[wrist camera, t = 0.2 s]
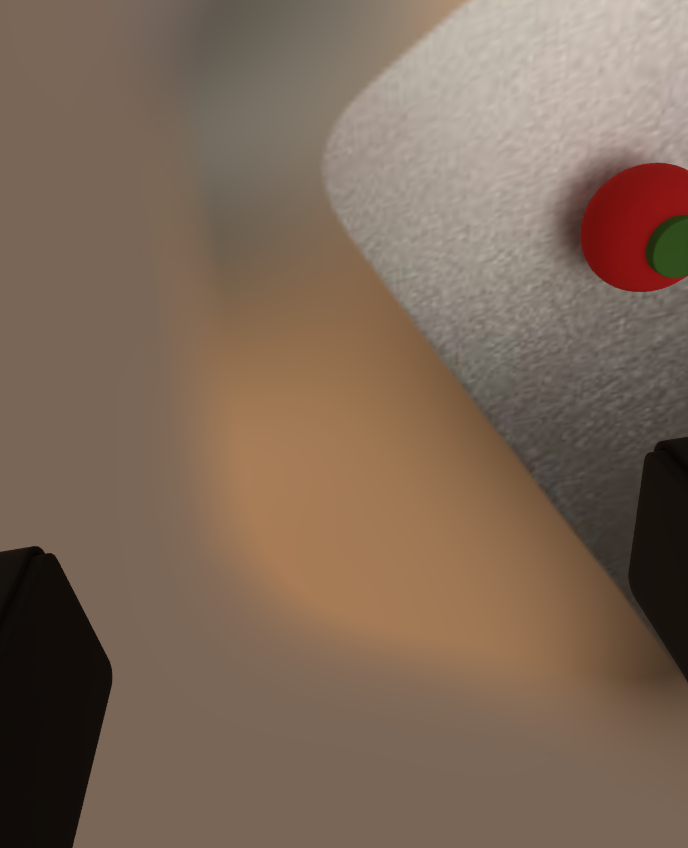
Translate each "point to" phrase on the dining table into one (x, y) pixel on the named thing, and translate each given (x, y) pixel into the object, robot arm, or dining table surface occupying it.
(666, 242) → the cherry tomato
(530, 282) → the dining table surface
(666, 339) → the dining table surface
